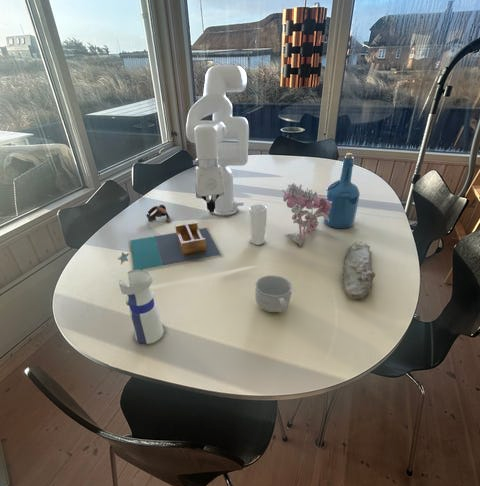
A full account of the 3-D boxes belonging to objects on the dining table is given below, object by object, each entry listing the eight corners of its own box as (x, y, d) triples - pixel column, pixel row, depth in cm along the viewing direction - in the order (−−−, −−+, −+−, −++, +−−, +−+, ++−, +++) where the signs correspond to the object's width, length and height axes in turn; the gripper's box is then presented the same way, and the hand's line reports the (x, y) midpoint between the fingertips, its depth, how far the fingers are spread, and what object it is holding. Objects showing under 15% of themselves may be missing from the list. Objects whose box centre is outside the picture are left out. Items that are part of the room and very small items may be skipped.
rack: (197, 233, 137) (196, 221, 134) (206, 251, 125) (205, 239, 122) (176, 237, 135) (175, 225, 132) (183, 255, 123) (181, 243, 120)
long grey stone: (372, 252, 125) (346, 249, 128) (374, 239, 123) (347, 237, 126) (373, 304, 97) (339, 299, 100) (376, 289, 95) (340, 284, 98)
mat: (206, 229, 142) (206, 227, 142) (220, 255, 123) (220, 254, 123) (131, 241, 134) (130, 240, 134) (134, 272, 115) (134, 270, 115)
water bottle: (126, 341, 88) (102, 264, 74) (145, 320, 94) (125, 246, 80) (152, 348, 85) (132, 271, 71) (169, 327, 92) (154, 252, 78)
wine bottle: (355, 219, 147) (369, 151, 130) (351, 231, 137) (365, 159, 120) (325, 214, 152) (335, 148, 135) (319, 226, 142) (328, 156, 125)
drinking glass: (267, 239, 133) (268, 205, 125) (263, 247, 128) (264, 212, 119) (252, 237, 135) (252, 203, 126) (247, 245, 130) (246, 210, 121)
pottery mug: (169, 226, 146) (158, 213, 140) (154, 233, 150) (141, 221, 144) (175, 209, 154) (163, 197, 148) (159, 216, 157) (148, 204, 152)
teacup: (253, 295, 103) (253, 275, 98) (286, 293, 103) (288, 272, 99) (259, 326, 91) (259, 304, 87) (296, 323, 92) (299, 301, 88)
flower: (346, 244, 125) (345, 178, 121) (293, 249, 119) (291, 179, 115) (319, 242, 144) (317, 185, 140) (272, 246, 138) (269, 186, 134)
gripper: (188, 167, 110) (194, 217, 120) (230, 163, 113) (232, 211, 124) (185, 162, 116) (190, 210, 126) (225, 158, 119) (227, 205, 130)
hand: (211, 210), depth 125 cm, fingers closed
